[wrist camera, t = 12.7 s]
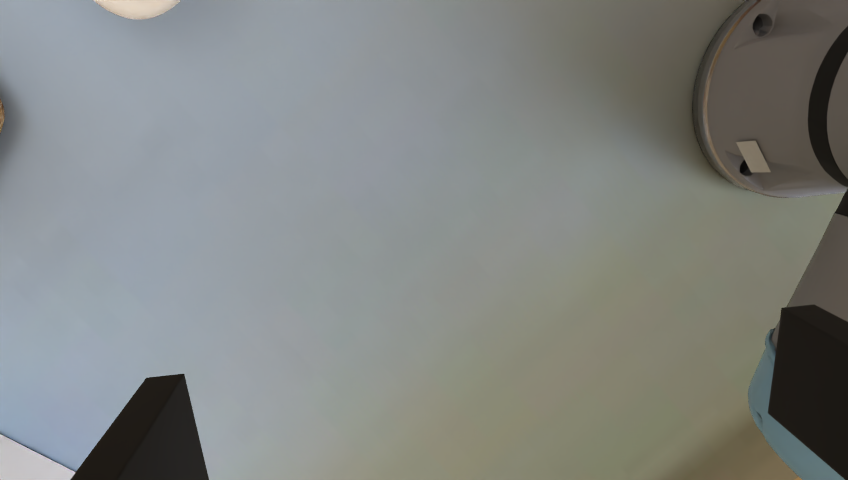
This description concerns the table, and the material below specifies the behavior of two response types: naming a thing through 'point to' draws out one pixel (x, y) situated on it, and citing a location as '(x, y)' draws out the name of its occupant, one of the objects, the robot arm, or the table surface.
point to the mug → (137, 7)
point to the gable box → (28, 464)
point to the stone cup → (1, 115)
